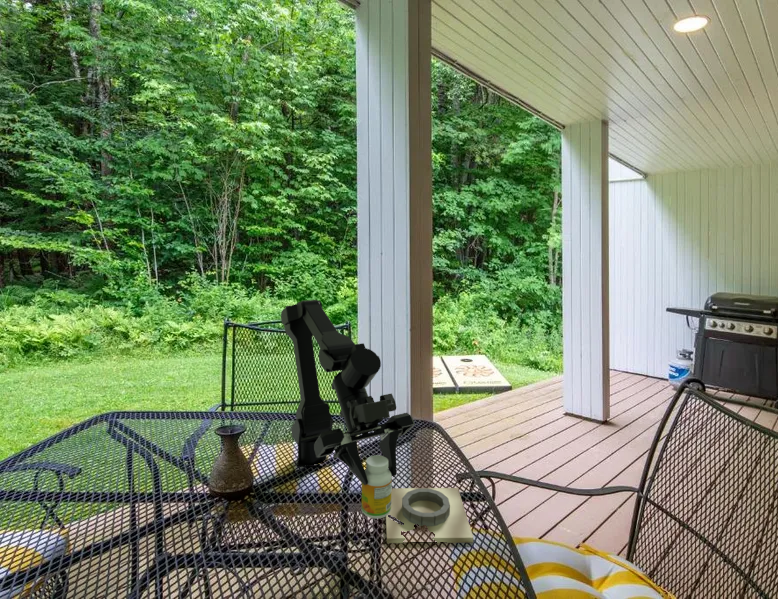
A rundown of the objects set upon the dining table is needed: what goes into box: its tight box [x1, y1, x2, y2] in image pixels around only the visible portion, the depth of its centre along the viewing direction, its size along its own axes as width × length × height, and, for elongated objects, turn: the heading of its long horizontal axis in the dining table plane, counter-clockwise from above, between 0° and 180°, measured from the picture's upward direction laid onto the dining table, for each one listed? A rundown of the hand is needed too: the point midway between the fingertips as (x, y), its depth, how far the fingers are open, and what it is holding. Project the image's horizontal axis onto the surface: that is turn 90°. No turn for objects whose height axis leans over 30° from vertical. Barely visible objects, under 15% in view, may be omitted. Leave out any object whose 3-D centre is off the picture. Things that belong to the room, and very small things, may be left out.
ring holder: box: [385, 487, 474, 544], centre depth 90 cm, size 16×16×3 cm
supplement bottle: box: [361, 454, 393, 520], centre depth 81 cm, size 5×5×10 cm
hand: (380, 480), depth 79 cm, fingers closed on supplement bottle, 5 cm apart
